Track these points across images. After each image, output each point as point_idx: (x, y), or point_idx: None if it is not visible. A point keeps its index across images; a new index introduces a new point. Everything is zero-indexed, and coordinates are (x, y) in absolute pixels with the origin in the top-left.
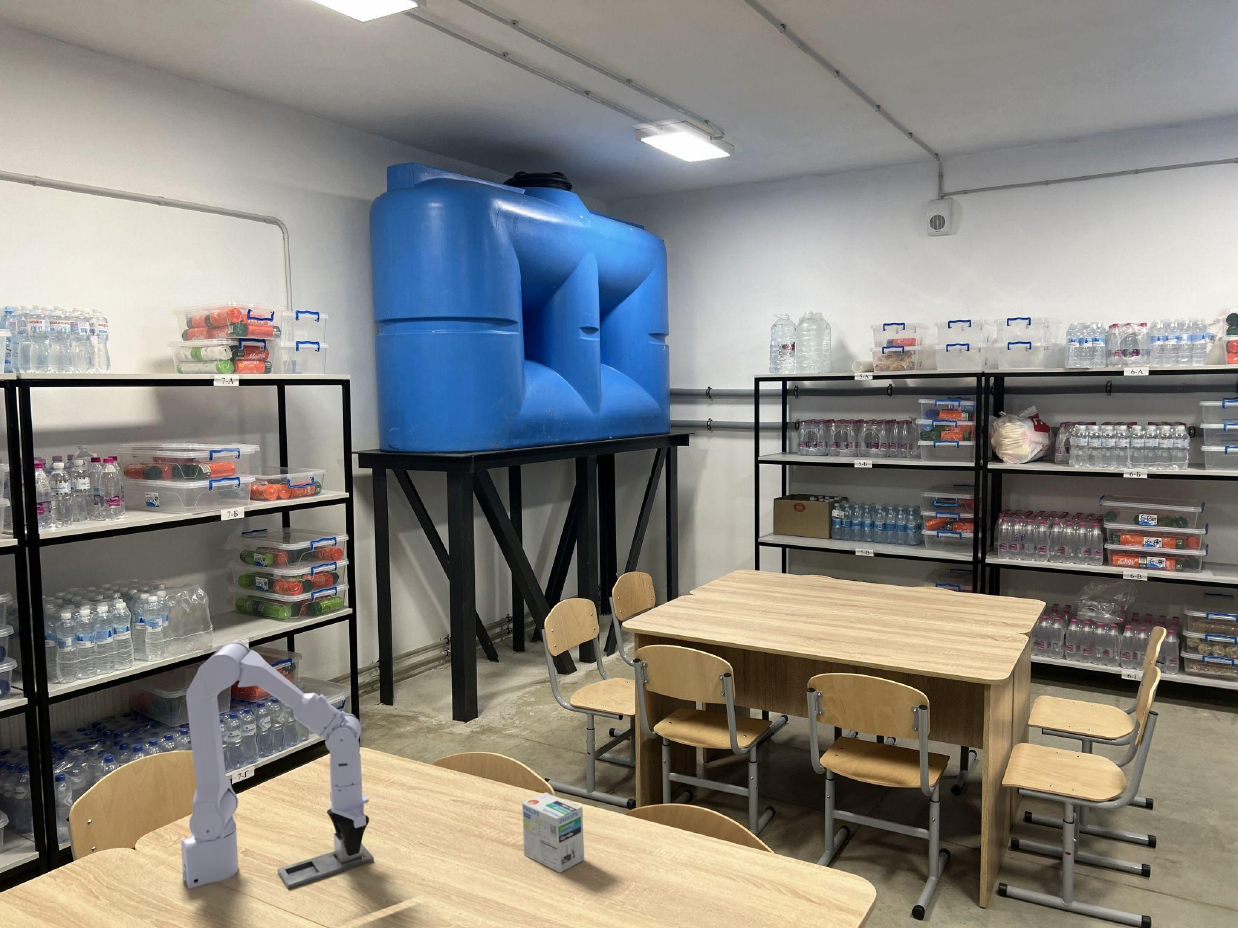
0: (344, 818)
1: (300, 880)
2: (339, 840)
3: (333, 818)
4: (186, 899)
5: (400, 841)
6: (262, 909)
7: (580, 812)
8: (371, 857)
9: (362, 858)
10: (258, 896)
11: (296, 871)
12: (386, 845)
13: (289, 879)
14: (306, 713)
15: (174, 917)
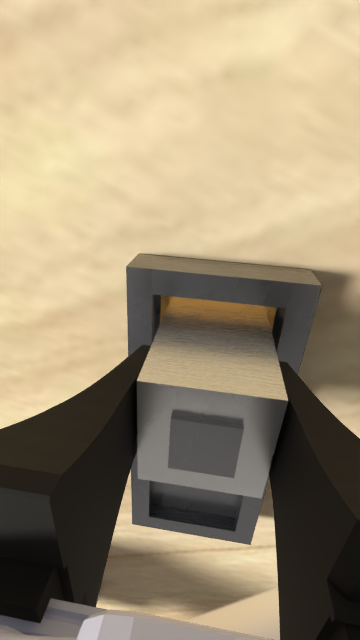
0: (104, 495)
1: (253, 520)
2: (242, 493)
3: (100, 574)
4: (109, 600)
5: (165, 5)
6: (268, 562)
7: None
8: (315, 295)
9: (286, 330)
10: (199, 546)
11: (163, 483)
12: (157, 116)
13: (221, 531)
14: None
15: None
